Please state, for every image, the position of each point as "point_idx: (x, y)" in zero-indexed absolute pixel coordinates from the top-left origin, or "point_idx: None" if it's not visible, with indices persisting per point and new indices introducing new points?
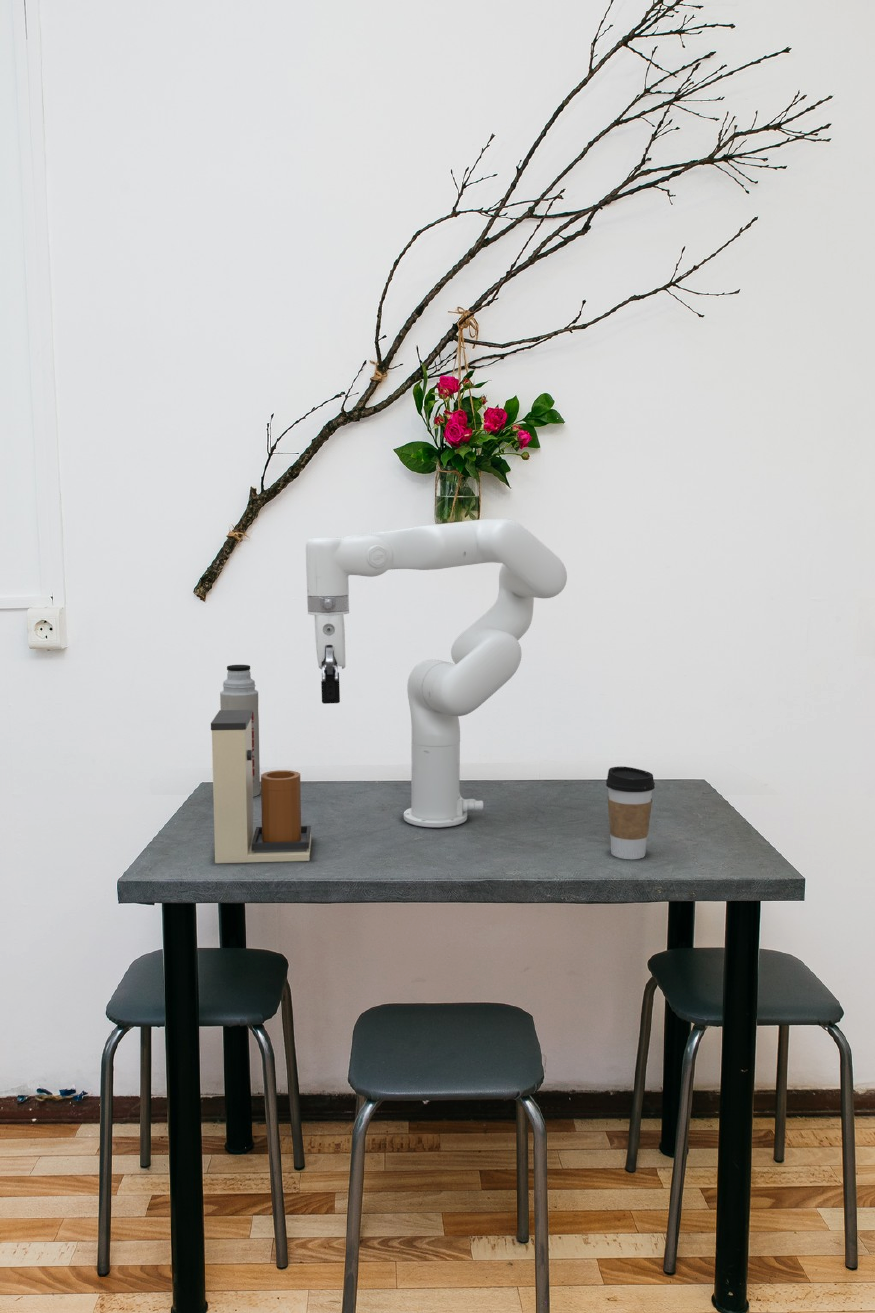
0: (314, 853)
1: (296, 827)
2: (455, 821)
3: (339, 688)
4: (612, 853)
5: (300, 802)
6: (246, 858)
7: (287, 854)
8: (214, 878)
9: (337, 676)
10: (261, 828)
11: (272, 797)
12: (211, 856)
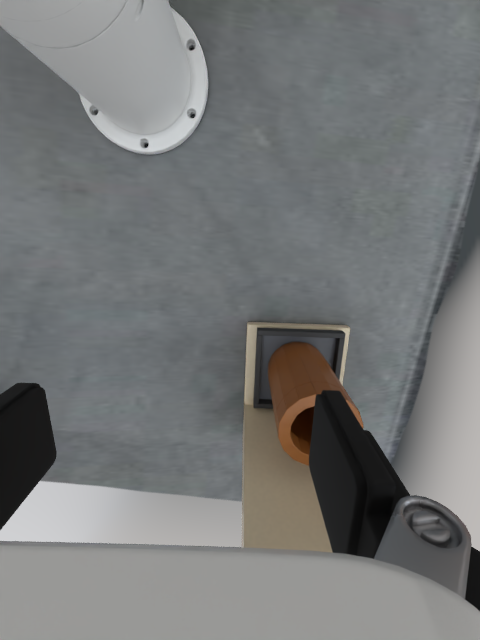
0: (313, 317)
1: (322, 357)
2: (196, 37)
3: (368, 440)
4: None
5: (313, 366)
6: None
7: (345, 357)
8: (386, 435)
9: (468, 545)
10: (258, 400)
11: None
12: None
